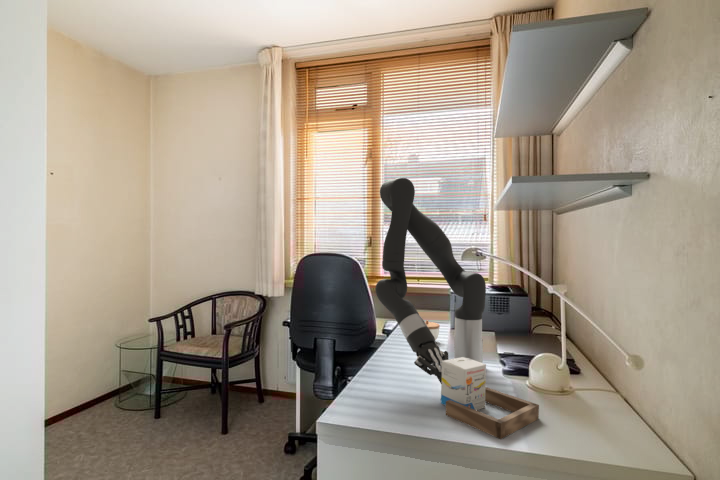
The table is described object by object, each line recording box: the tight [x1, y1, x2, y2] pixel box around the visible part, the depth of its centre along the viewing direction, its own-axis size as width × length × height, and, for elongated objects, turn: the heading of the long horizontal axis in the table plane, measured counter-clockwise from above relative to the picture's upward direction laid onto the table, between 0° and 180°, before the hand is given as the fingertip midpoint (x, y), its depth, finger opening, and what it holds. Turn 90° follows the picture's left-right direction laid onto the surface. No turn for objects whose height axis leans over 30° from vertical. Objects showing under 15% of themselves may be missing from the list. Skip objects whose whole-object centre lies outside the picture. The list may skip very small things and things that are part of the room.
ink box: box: [440, 357, 487, 411], centre depth 108 cm, size 9×8×12 cm
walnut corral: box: [445, 387, 540, 440], centre depth 101 cm, size 17×16×4 cm
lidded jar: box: [424, 319, 440, 341], centre depth 176 cm, size 11×11×9 cm
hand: (448, 385), depth 111 cm, fingers closed
